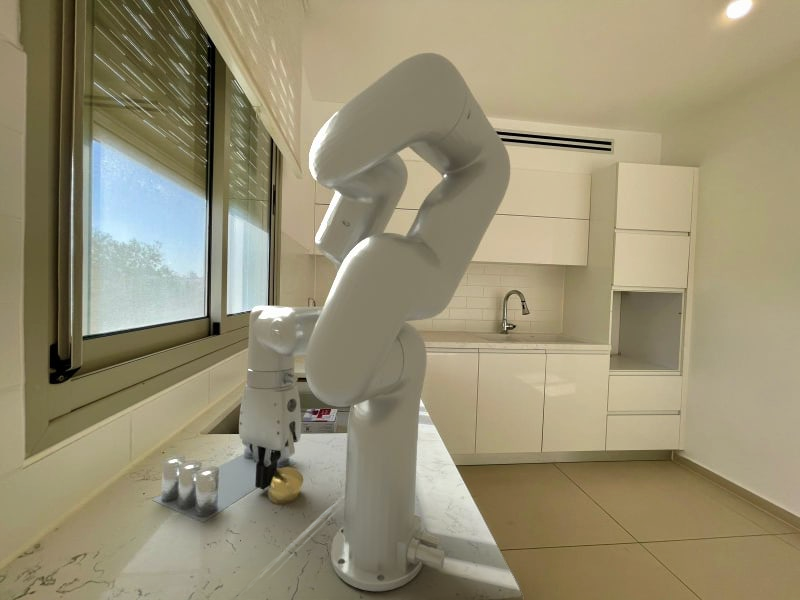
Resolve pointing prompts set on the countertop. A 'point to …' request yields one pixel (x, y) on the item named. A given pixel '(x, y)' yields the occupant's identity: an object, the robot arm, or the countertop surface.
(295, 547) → the countertop surface
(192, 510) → the plate
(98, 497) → the countertop surface
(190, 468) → the steel spacers
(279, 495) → the gold rounded lump
